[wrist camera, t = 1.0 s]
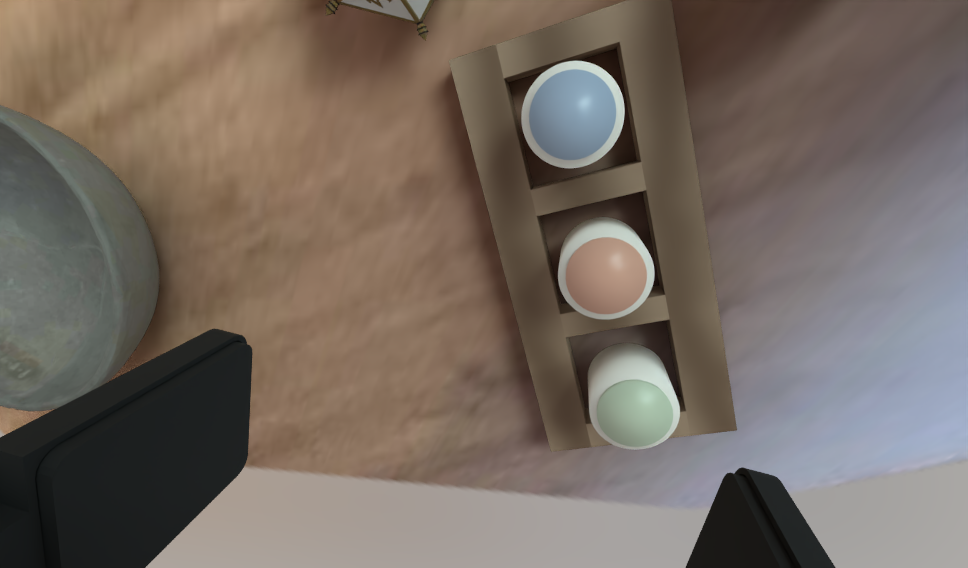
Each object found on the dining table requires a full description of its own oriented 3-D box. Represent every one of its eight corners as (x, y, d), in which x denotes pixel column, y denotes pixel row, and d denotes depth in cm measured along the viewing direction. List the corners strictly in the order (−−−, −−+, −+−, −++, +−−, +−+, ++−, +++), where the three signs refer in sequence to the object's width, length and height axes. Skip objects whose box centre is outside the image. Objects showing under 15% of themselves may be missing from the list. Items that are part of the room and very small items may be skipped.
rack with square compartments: (662, -3, 26) (669, -14, 24) (727, 413, 32) (736, 430, 30) (456, 65, 29) (448, 60, 27) (552, 434, 35) (550, 451, 33)
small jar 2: (635, 208, 27) (646, 220, 23) (650, 287, 28) (662, 312, 24) (552, 227, 28) (548, 242, 24) (569, 303, 29) (568, 328, 25)
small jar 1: (607, 60, 25) (614, 45, 21) (625, 151, 26) (634, 153, 22) (520, 87, 26) (509, 78, 22) (539, 173, 27) (533, 179, 23)
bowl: (163, 409, 41) (71, 469, 34) (-39, 275, 41) (-176, 306, 34) (251, 205, 34) (160, 224, 27) (7, 42, 34) (-155, 15, 26)
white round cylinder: (659, 336, 29) (673, 368, 25) (672, 406, 30) (687, 447, 26) (580, 350, 30) (581, 382, 26) (595, 416, 31) (598, 457, 27)
